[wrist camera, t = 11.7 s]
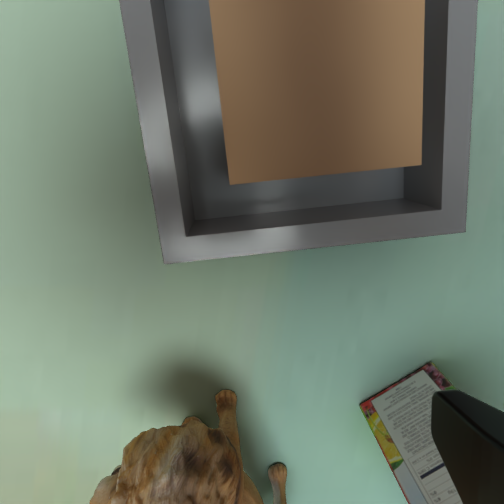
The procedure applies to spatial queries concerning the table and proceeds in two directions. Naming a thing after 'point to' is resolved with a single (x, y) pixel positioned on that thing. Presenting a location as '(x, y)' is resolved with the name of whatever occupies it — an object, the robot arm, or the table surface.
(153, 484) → the lion figurine
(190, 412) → the table surface
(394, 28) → the walnut cube
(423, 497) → the snack box
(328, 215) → the grey square tray
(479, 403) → the robot arm
